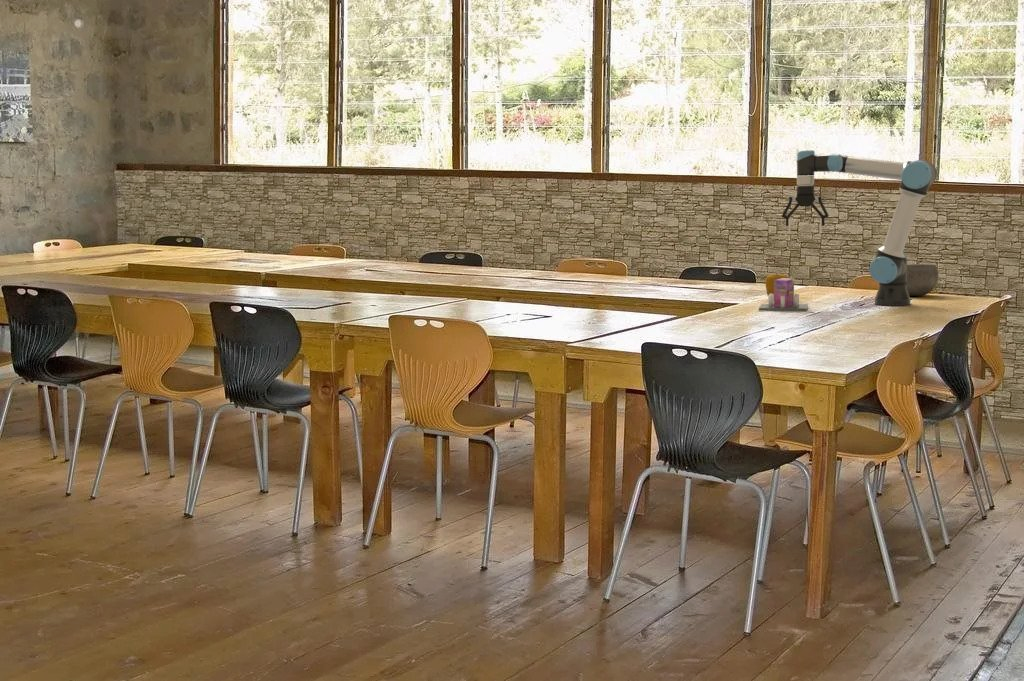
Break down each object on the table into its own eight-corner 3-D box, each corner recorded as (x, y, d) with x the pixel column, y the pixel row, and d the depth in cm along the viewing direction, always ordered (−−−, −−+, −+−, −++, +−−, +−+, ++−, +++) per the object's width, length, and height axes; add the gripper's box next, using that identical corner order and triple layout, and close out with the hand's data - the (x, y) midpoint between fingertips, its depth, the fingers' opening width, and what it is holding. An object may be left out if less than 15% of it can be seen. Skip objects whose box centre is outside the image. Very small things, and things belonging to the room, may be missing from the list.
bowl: (900, 293, 613) (900, 262, 611) (943, 295, 601) (944, 263, 599) (885, 297, 596) (885, 265, 594) (929, 298, 584) (930, 266, 582)
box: (786, 307, 546) (786, 280, 544) (773, 307, 549) (773, 279, 547) (794, 305, 555) (794, 278, 553) (781, 304, 558) (781, 277, 556)
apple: (792, 299, 591) (792, 272, 590) (784, 302, 582) (784, 273, 581) (770, 299, 597) (770, 271, 595) (761, 301, 588) (761, 273, 586)
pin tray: (808, 307, 558) (808, 292, 557) (806, 311, 541) (806, 296, 540) (761, 306, 563) (761, 292, 562) (758, 310, 546) (758, 296, 545)
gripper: (834, 184, 563) (834, 232, 565) (777, 185, 569) (776, 233, 572) (834, 185, 556) (833, 233, 558) (776, 186, 562) (775, 234, 565)
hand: (805, 233), depth 565 cm, fingers open, 13 cm apart
